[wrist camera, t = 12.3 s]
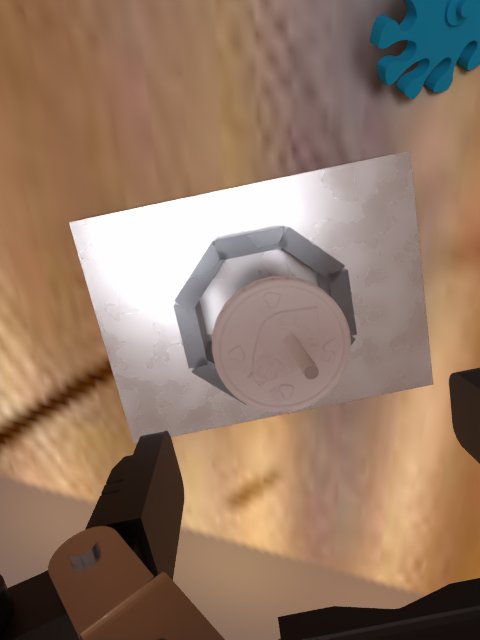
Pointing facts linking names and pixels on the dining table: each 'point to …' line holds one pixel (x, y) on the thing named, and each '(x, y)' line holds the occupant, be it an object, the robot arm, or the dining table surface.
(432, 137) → the dining table surface
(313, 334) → the smoothie
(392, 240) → the hub plate
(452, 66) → the gear
